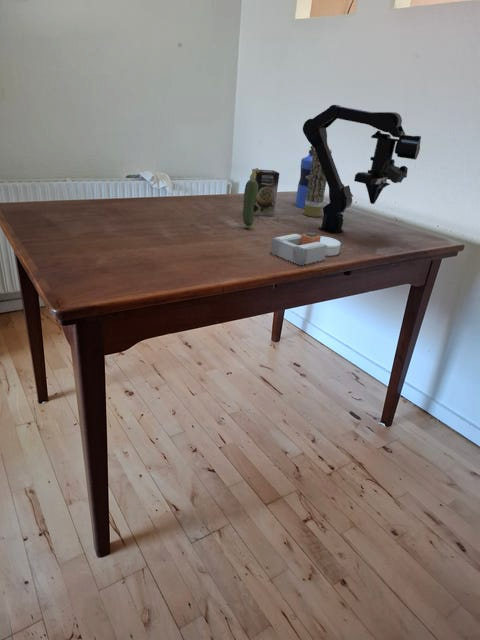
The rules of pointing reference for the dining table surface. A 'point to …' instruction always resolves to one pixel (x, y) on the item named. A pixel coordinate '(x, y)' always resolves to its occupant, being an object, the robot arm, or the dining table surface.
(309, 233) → the orange cylinder
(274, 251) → the housing
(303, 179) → the water bottle
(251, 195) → the vegetable
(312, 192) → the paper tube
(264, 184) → the coffee box
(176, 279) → the dining table surface
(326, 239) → the white round dish
